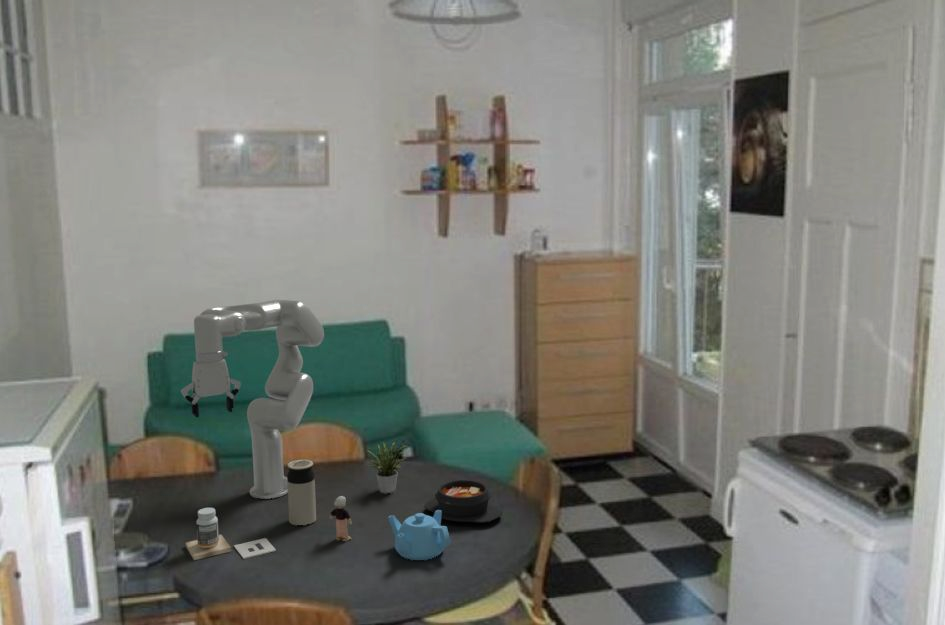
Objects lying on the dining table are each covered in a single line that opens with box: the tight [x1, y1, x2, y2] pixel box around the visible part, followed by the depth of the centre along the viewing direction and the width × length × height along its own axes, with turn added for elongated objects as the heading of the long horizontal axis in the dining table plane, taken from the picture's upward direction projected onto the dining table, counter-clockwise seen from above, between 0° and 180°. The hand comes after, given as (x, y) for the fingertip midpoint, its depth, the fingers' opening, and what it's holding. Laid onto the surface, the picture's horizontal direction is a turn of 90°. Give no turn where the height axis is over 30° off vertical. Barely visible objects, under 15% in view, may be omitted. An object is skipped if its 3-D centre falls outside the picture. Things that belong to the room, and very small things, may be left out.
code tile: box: [233, 537, 277, 560], centre depth 232 cm, size 9×9×1 cm
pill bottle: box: [195, 507, 220, 548], centre depth 232 cm, size 6×6×10 cm
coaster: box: [184, 534, 232, 561], centre depth 232 cm, size 10×10×1 cm
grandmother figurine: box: [329, 495, 353, 542], centre depth 237 cm, size 8×4×13 cm, turn 71°
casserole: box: [424, 479, 503, 524], centre depth 254 cm, size 25×19×8 cm
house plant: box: [365, 442, 409, 492], centre depth 272 cm, size 14×14×16 cm
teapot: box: [387, 510, 452, 561], centre depth 229 cm, size 15×15×11 cm
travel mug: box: [286, 459, 317, 526], centre depth 249 cm, size 8×8×18 cm
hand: (213, 413), depth 246 cm, fingers open, 9 cm apart
